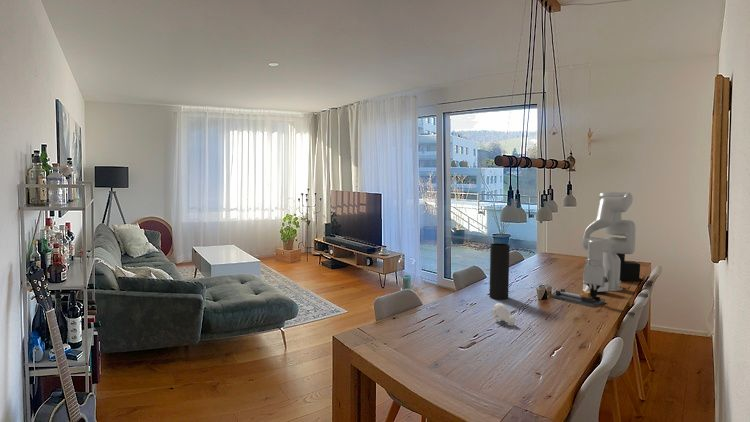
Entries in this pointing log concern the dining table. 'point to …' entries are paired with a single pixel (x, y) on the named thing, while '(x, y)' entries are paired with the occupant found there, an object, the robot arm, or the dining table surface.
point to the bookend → (629, 269)
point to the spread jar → (600, 290)
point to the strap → (570, 294)
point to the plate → (578, 299)
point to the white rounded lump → (502, 314)
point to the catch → (586, 294)
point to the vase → (499, 271)
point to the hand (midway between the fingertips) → (593, 296)
